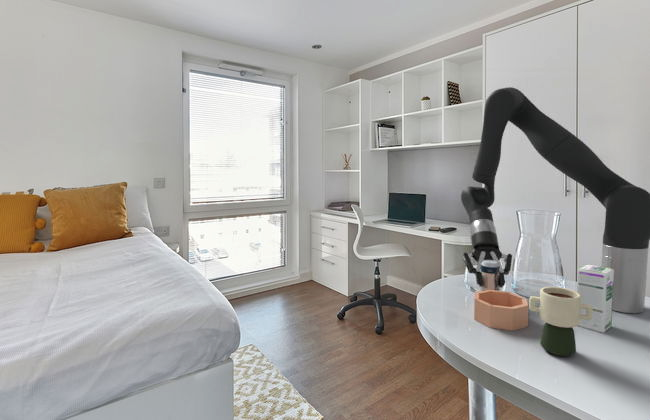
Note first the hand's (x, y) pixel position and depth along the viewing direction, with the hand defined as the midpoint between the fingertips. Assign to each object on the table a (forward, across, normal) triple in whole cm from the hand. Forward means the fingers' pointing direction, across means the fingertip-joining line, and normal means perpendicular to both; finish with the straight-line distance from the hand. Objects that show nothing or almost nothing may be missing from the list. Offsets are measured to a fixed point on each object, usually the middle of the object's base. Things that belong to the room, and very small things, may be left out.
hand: (491, 285), depth 97 cm
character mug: (+21, +8, -14) cm, 26 cm away
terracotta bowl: (+11, 0, -4) cm, 12 cm away
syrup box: (+11, +21, -3) cm, 24 cm away
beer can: (+3, 0, +5) cm, 6 cm away
